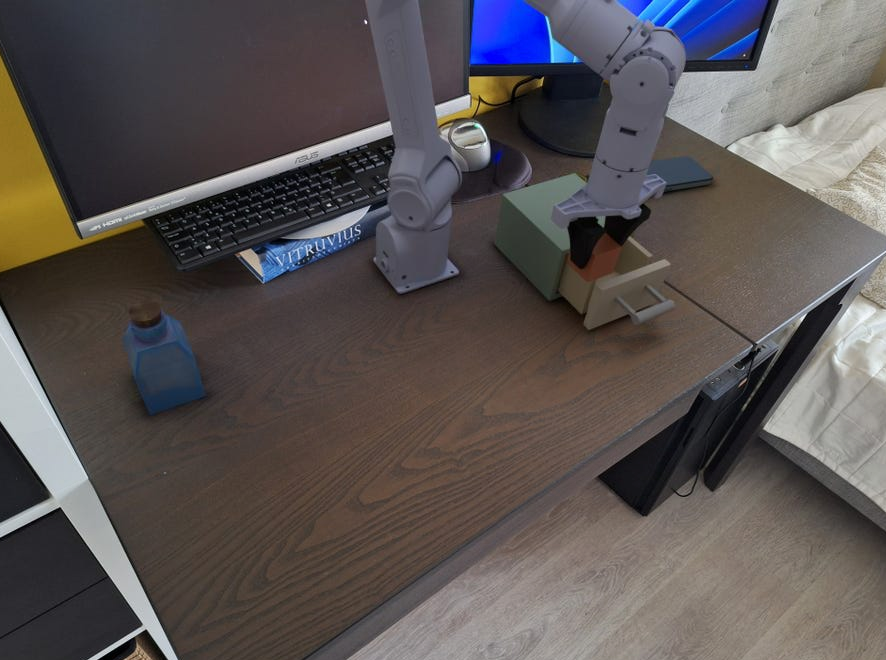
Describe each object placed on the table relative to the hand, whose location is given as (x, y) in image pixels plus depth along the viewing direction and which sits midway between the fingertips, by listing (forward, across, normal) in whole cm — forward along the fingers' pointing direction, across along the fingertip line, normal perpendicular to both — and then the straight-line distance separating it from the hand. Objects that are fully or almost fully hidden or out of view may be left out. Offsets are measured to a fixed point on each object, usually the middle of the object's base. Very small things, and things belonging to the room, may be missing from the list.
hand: (592, 258), depth 80 cm
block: (+1, 0, 0) cm, 1 cm away
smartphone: (+11, +35, +20) cm, 42 cm away
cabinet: (+10, +6, +11) cm, 16 cm away
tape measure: (+11, +17, +21) cm, 29 cm away
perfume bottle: (+11, -49, +12) cm, 51 cm away
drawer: (+10, +6, +1) cm, 11 cm away
